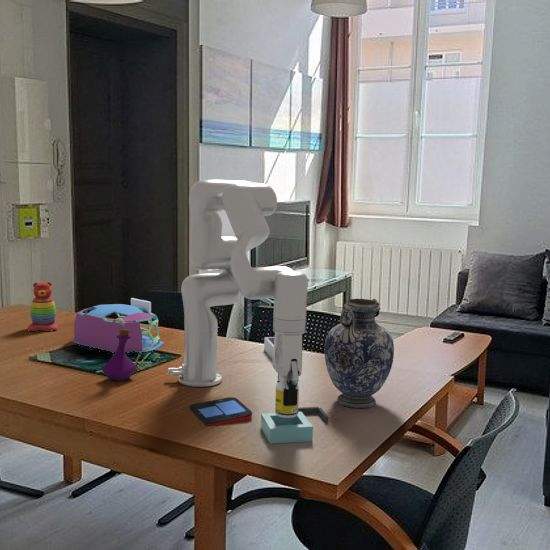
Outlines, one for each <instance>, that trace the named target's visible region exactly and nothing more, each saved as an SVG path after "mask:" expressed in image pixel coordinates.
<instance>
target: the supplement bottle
mask: <svg viewBox="0 0 550 550" xmlns="http://www.w3.org/2000/svg"><path fill="white" fill-rule="evenodd" d="M288 375H291V373H288V374H287V376H288ZM290 380H291V378H288V383H289V381H290ZM279 381H280V382H278V383H276V385H275V402H274V403H275V409H274V413H276V415H277V416H279V417H282V418H293V417H296V416H297V415H298V408H299V399H300V398H299V394H300V387H299V386H300V385H299V384H298V396H297V405H296V406H284V405H283V393H284V389H285V376H284V377H281V376H280V375H279Z"/></svg>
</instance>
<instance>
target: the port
mask: <svg viewBox="0 0 550 550" xmlns="http://www.w3.org/2000/svg"><path fill="white" fill-rule="evenodd" d="M260 415H261V416H260V429H261V430H262V432H263V434H264V436H265V438H266V439H267V441H268V443H269V445H272V444H286V443H302V442H303V443H304V442H313V436H314V435H313V434H314V431H313V430H314V426H313V424H312V423H311V422H310V420H309V419H308V418H307V416H305V414H303V413H302V412H298V415H297V416H296V417H293V418H282V417H279V416H277V415H276V413H275V412H270V413H269V412H267V413H264V412H263V413H261V414H260Z"/></svg>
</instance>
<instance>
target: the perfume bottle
mask: <svg viewBox="0 0 550 550" xmlns="http://www.w3.org/2000/svg"><path fill="white" fill-rule="evenodd" d="M112 321H113V325H114V324H115V322H116V321H118V322H119V323H120V324H122V325H123V328H124V323H125V322H124V320H123V319H122V318H119V317H117V318H114V319H113V320H112ZM117 338H119V344H118V347H117V349H116V352H115V354H112V356H111V357H110V359H109V360H108V361H107V362H106V364H105V365H104V366H103V367H102V368H101V371H102V372H103V373H104V375H105V376H106V378H108V380H110V379H113V380H112V381H115V380H117V381H116V382H120V381H121V382H123V380H124V381H125V380H128V378H129V379H130V378H131V377H132V375H133V374H134V373H135V372H136V370H137V369H138V366H137V365H136V364H135V363H134V362H133V360H131V359H130V357H128V356H127V354H125V349H124V348H125V344H126V341H127V340H128V339H129V338H131V336H130V335H129V330H128V329H121V330H119V335H117Z"/></svg>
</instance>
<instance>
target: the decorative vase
mask: <svg viewBox="0 0 550 550" xmlns="http://www.w3.org/2000/svg"><path fill="white" fill-rule="evenodd" d="M343 308H344V309H342V310H341V311H340V315H339V316H340V317H339V322H340V323H338V324H337V325H335V326H334V327H332V328H331V329H330V330H329V332H328V333H327V334H326V337H325V340H324V342H325V343H324V361H325V366H326V371H327V373H328V375H329V378H330V381H331V382H332V384H333V386H334V387H335V389H337V391H339V392H340V393H341V394H339V395H337V398H336V402H337V403H338V404H339V405H340V406H343V407H345V408H350V409H369V408H373V407H375V405H376V403H377V400H376V398H375V397H374V396H373V395H374V394H376V393H378V392H379V391H380V390H381V388H382V387H383V386H384V385H385V383H386V381H387V379H388V378H389V375H390V372H391V370H392V367H393V364H394V363H393V362H394V357H395V345H394V340H393V337H392V335H391V333H390V332H389V331H388V330H387V329H386V328H385V327H383V326H381V325H379V324H378V323H377V322H376V317H378V316H380V311H381V307H380V303H379V301H378V300H377V299H376V298H372V299H368V298H367V299H366V298H351V299H348V300H347V302H346V303H344V305H343Z"/></svg>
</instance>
